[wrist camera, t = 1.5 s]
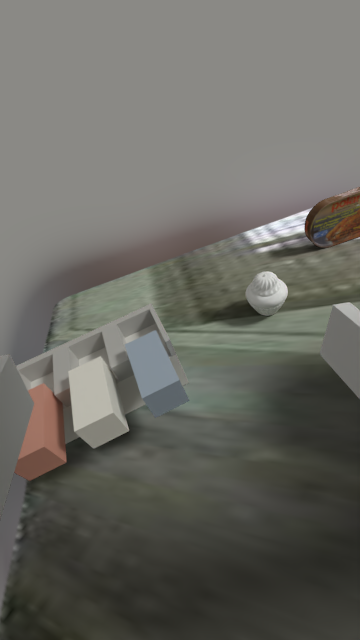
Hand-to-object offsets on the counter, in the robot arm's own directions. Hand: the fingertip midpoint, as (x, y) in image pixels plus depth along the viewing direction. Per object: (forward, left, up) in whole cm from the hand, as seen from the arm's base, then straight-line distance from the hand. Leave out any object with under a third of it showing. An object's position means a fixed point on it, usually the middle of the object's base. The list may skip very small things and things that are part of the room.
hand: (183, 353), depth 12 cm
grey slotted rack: (-2, -22, -25) cm, 34 cm away
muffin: (-26, -11, -25) cm, 38 cm away
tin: (-48, -7, -25) cm, 55 cm away
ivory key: (+2, -16, -18) cm, 24 cm away
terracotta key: (+8, -20, -18) cm, 28 cm away
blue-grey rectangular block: (-4, -13, -18) cm, 23 cm away
